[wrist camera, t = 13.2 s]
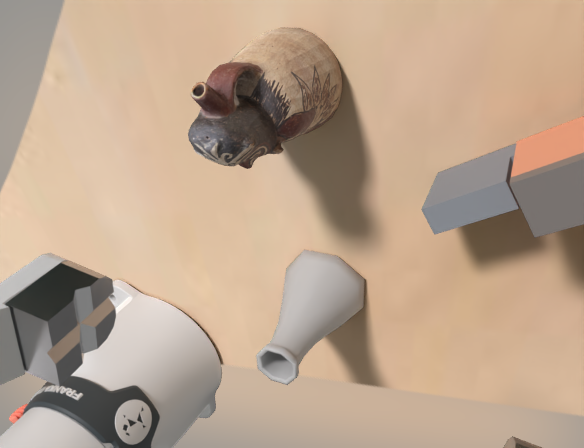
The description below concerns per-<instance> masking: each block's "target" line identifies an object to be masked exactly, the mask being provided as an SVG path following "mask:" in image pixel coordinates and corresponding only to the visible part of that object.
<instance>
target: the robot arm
mask: <svg viewBox="0 0 584 448" xmlns="http://www.w3.org/2000/svg"><path fill="white" fill-rule="evenodd" d="M25 372H27V373H30V374H32V375H34V376H37V377H39V378H41V379H43V380H46V381H47V383H46V384H45V385H44V386H43V387H42V388H41V389H40V390H39V391H37V392H36V394H35V395H34V396H33V397H32V398H31V400H30V402H29V404H25V405H23V406H22V407H20V408H18V409H17V410H16V411H15V412H14V413H13V414H12V415H11V417H10V418H9V420H10V421H11V422H12V423H13V425H12V426H11V427H10V428H9V429H8V430H7V431H6V432H5V433H4V434H3V435H2V436H1V437H0V448H173V447H174V446H175V445H176V444H177V442H178V441H179V440H180V439H181V438H182V436H183V435H184V434H185V433H186V432H187V430H188V429H189V428H190V427H191V426H192V424H193V423H194V422H195V421H196V420H197V418H198V417H200V418H208V417H210V416H211V415H212V413H213V412H214V411H215V408H216V404H215V393H216V390H217V389H218V387H219V385H220V382H221V378H222V369H221V363H220V360H219V357H218V354H217V352H216V350H215V348H214V346H213V344H212V343H211V341H210V340H209V338H208V337H207V335H206V334H205V333H204V332H203V331H202V329H201V328H200V327H199V326H198V325H197V324H196V323H195V322H194V321H193V320H192V319H191V318H189V317H188V316H187V315H186V314H184V313H183V312H182V311H180V310H179V309H177V308H176V307H174V306H172V305H170V304H168V303H166V302H164V301H162V300H159V299H157V298H153V297H150V296H147V295H145V294H142V293H140V292H139V291H138V290H136V289H135V288H133V287H132V286H130V285H129V284H127V283H125V282H124V281H121V280H115V281H112V279H110V278H108V277H106V276H104V275H102V274H100V273H97V272H95V271H93V270H90V269H88V268H86V267H83V266H81V265H79V264H76V263H74V262H72V261H69V260H66V259H64V258H62V257H59V256H57V255H54V254H52V253H48V254H43V255H41V256H39V257H38V258H36V259H35V260H33V261H32V262H30V263H29V264H27V265H26V266H25V267H23V268H22V269H20V270H19V271H17V272H16V273H14V274H13V275H12V276H10V277H9V278H7V279H6V280H4V281H3V282H1V283H0V385H1V384H4V383H6V382H8V381H10V380H13V379H15V378H17V377H19V376H22V375H24V374H25ZM503 448H542V447H539V446H536V445H534V444H531V443H528V442H526V441H523V440H520V439H518V438H515V437H511V438H510V439H508V441H507V442H506V444H505V445H504V447H503Z"/></svg>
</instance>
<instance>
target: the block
mask: <svg viewBox="0 0 584 448" xmlns="http://www.w3.org/2000/svg"><path fill="white" fill-rule="evenodd" d="M510 186H511V188H512V190H513V193H514V195H515V197H516V199H517V201H518V203H519V205H520V207H521V210H522V212H523V214H524V216H525V218H526V220H527V222H528V224H529V227H530V229H531V231H532V233H533V235H534V237H539V236H543V235H546V234H550V233H554V232H557V231H561V230H565V229H568V228H572V227H576V226H579V225H583V224H584V116H582V117H580V118H577V119H574V120H572V121H569V122H567V123H564V124H561V125H559V126H556V127H553V128H551V129H548V130H546V131H543V132H540V133H538V134H535V135H532V136H530V137H527V138H525V139H522V140H519V141H517V143H516V149H515V155H514V161H513V166H512V172H511V178H510Z"/></svg>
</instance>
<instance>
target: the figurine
mask: <svg viewBox="0 0 584 448" xmlns="http://www.w3.org/2000/svg"><path fill="white" fill-rule="evenodd" d="M341 93H342V77H341V72H340V68H339V65H338V61H337V59H336V57H335V55H334V53H333V52H332V51H331V49H330V48H329V47H328V46H327V45H326V43H325V42H324V41H322V40H321V39H320V38H318V37H317V36H316V35H315V34H313V33H310V32H308V31H306V30H303V29H301V28H278V29H274V30H271V31H267V32H265V33H263V34H261V35H260V36H258V37H257V38H255V39H254V40H253V41H251V42H250V43H249V44H248V45H247V46H245V47H244V48H243V49H242V50H241V51H240V52H239V53H237V55H236V56H235V57H234V58H233V59H232V60H231V61H230V62H229V63H226V64H223V65H219V66H218V67H217V68H216V69H215V70H214V71H212V73H211V74H210V76H209V78H208V80H207V83H204V82H200V83H197V84H196V85H195V86H194V87H193V88H192V90H191V96H192V98H193V99H194V100H195V101H196V102H197V103H198V104H199V105H200V106H201V107H202V108H201V110H200V113H199V115H198V117H197V118H196V120H195V121H194V122H193V124H192V125H191V127H190V129H189V133H188V136H189V141H190V142H191V144H192V146H193V147H194V150H195V152H196V153H197V154H199V155H201V156H203V157H205V158H207V159H209V160H211V161H213V162H216V163H218V164H221V165H224V166H235V165H238V164H239V165H240V166H242V167H244V168H247V169H248V168H251V167H252V164H253V162H254V161H255V160H256V159H257V158H258V157H260V156H263V155H266V154H280V153H281V152H282V151H283V149H282V147H281V143H282V142H286V141H289V140H292V139H293V138H295V137H297V136H299V135H301V134H306V133H309V132H310V131H312V130H314V129H316V128H318V127H320V126H321V125H323V124H324V123H325V122H326V121H328V120H329V119H330V118H332V116H333V115H334V113H335V111H336V109H337V107H338V105H339V102H340V98H341Z"/></svg>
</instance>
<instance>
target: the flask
mask: <svg viewBox="0 0 584 448" xmlns="http://www.w3.org/2000/svg"><path fill="white" fill-rule="evenodd" d="M363 307H364V278H363V277H361V276H360V275H359V274H358V273H357V272H355V271H354V270H353V269H352V268H351V267H350V266H348V265H347V264H346V263H345V262H344V261H343V260H341V259H340V258H339V257H338V256H335V255H330V254H324V253H319V252H314V251H309V250H304V251H303V252H302V253H301V254H300V255H299V256H298V257H297V258H296V259H295V260H294V261H293V262H292V263H291V264H290V265H289V267H288V268H287V269H286V275H285V283H284V292H283V299H282V305H281V311H280V317H279V322H278V325H277V327H276V330H275V333H274V335H273V338H272V340H271V341H270V343H269V344H267V345H266V346H265V347H264V348H263V349H262V350H261V351H260V352H259V353H258V354H257V366H258V369H259V370H260V371H261V372H262V373H264V374H265V375H266V376H267V377H268V378H269V379H271V380H273V381H276V382H280V383H283V384H286V385H288V384H289V383H290V382H292V381H293V380H294V379H295V378H297V376H298V374H299V368H298V366H299V364H300V362H301V361H302V359H303V357H304V356H305V355H306V353H307V352H308V351H309V350H310V349H311V348H312V347H313V346H314V345H315V344H316V343H317V342H318V341H320V340H321V339H322V338H324V337H325V336H327V335H328V334H330V333H331V332H333V331H334V330H336V329H337V328H339V327H340V326H341V325H343V324H344V323H345V322H346V321H348V320H349V319H350V318H351V317H352V316H354V315H355V314H356V313H357V312H358V311H360V310H361V309H362V308H363Z"/></svg>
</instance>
